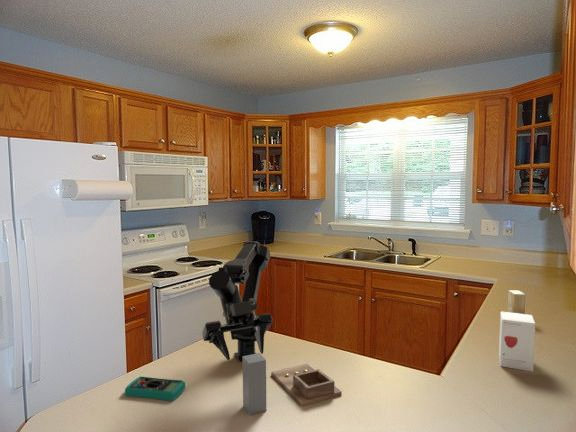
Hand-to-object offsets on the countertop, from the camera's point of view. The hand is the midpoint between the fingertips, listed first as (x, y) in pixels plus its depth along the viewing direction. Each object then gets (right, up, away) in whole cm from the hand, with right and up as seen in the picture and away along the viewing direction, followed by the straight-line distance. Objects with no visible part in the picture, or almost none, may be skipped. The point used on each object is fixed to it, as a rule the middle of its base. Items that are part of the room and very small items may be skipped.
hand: (246, 356), depth 105 cm
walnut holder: (+16, -11, +8) cm, 21 cm away
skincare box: (+104, -7, +60) cm, 120 cm away
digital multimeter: (-25, -12, +5) cm, 28 cm away
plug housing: (+3, -12, -4) cm, 13 cm away
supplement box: (+82, -10, +21) cm, 85 cm away
